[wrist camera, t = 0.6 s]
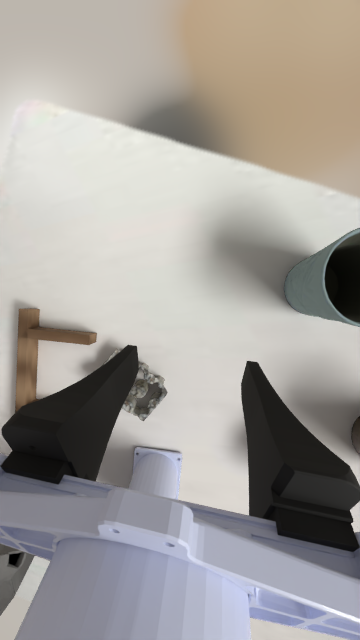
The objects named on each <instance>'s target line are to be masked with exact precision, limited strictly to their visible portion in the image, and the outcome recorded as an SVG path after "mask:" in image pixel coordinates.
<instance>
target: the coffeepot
mask: <svg viewBox="0 0 360 640" xmlns="http://www.w3.org/2000/svg"><path fill="white" fill-rule="evenodd" d="M34 556H35V555H32V554H29V553H26V552H24V551H21V550H18V549H15V548H12V547H9V546H6V545H3V544H0V615H1V614H2V613H3V611H4V610H5V609H6V607H7V606H8V604H9V603H10V602H11V600H12V599H13V598H14V596H15V594H16V592H17V590H18V588H19V586H20V584H21V582H22V580H23V578H24V576H25V574H26V572H27V570H28V568H29V566H30V564H31V562H32V560H33V558H34Z"/></svg>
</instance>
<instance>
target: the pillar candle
mask: <svg viewBox="0 0 360 640" xmlns="http://www.w3.org/2000/svg"><path fill="white" fill-rule="evenodd" d="M352 442H353V445H354V447H355V449H356V451H357V452H358V453H359V454H360V417H359V418H358V419H357V420H356V422H355V424H354V426H353V429H352Z"/></svg>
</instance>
